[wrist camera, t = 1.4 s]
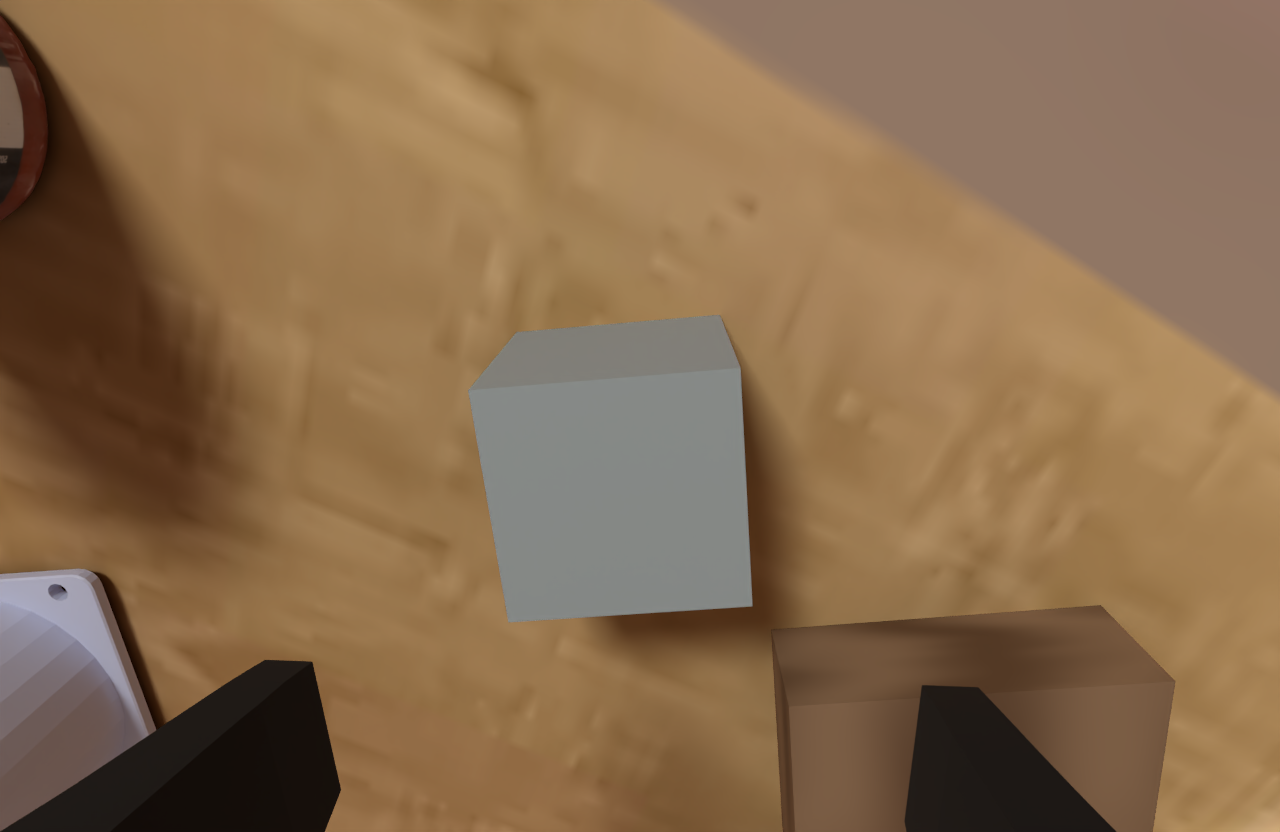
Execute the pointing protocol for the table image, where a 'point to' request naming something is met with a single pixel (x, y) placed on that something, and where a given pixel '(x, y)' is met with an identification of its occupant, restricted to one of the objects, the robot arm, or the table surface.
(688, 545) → the grey cube
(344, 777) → the table surface
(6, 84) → the supplement bottle
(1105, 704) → the walnut block
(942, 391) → the table surface
